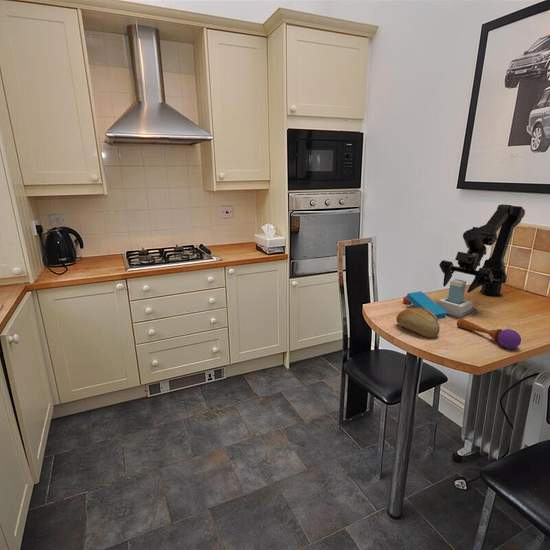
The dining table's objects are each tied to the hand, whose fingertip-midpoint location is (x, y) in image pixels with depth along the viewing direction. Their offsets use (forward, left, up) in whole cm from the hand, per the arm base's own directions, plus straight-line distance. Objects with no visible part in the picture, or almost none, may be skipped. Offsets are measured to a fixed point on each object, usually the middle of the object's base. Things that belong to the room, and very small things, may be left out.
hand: (455, 289), depth 137 cm
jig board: (-1, -1, -9) cm, 9 cm away
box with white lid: (-1, -1, -8) cm, 8 cm away
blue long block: (+11, -2, -10) cm, 15 cm away
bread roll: (+20, +17, -10) cm, 28 cm away
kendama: (-1, +22, -10) cm, 24 cm away
